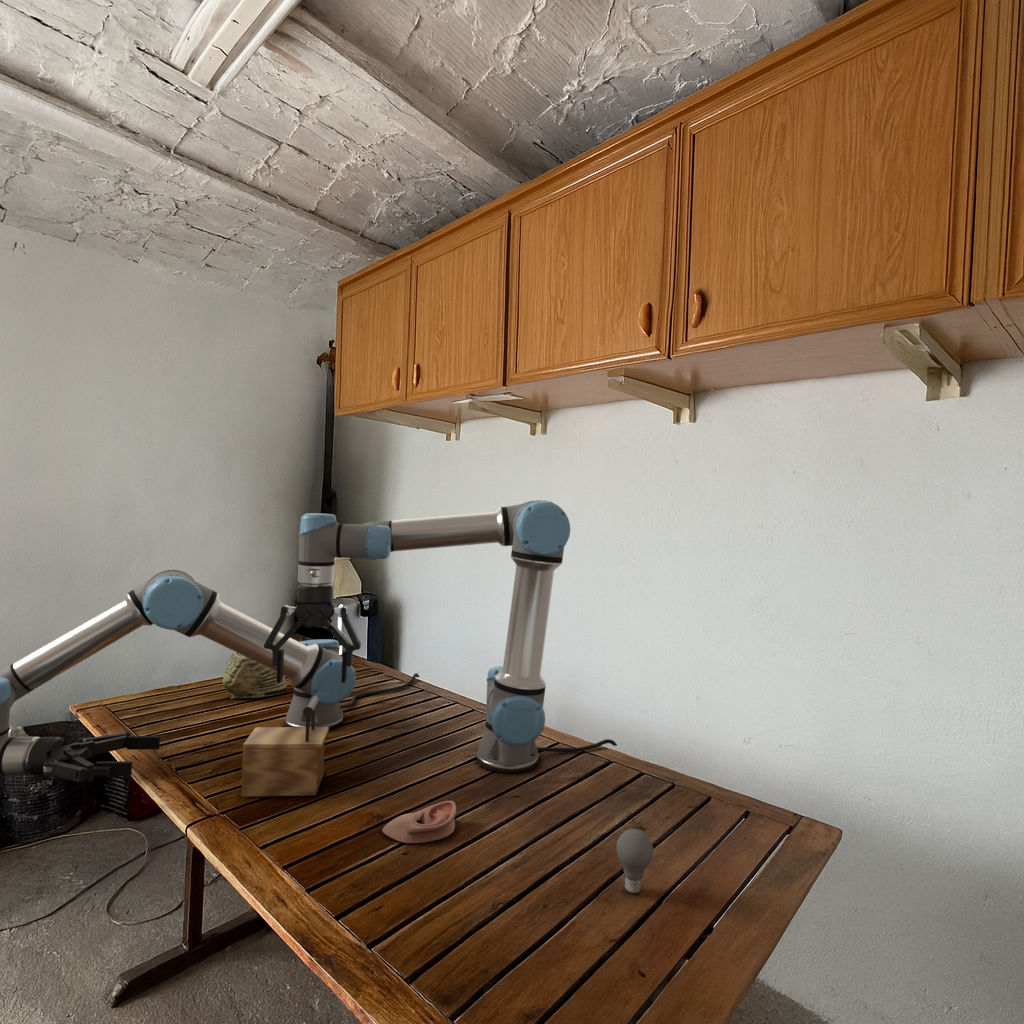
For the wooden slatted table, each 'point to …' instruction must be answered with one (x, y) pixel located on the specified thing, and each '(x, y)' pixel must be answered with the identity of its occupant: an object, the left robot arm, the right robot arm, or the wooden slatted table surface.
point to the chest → (281, 771)
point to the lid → (290, 733)
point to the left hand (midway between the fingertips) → (146, 755)
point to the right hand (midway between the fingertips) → (312, 681)
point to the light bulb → (634, 857)
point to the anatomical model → (423, 824)
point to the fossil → (250, 678)
